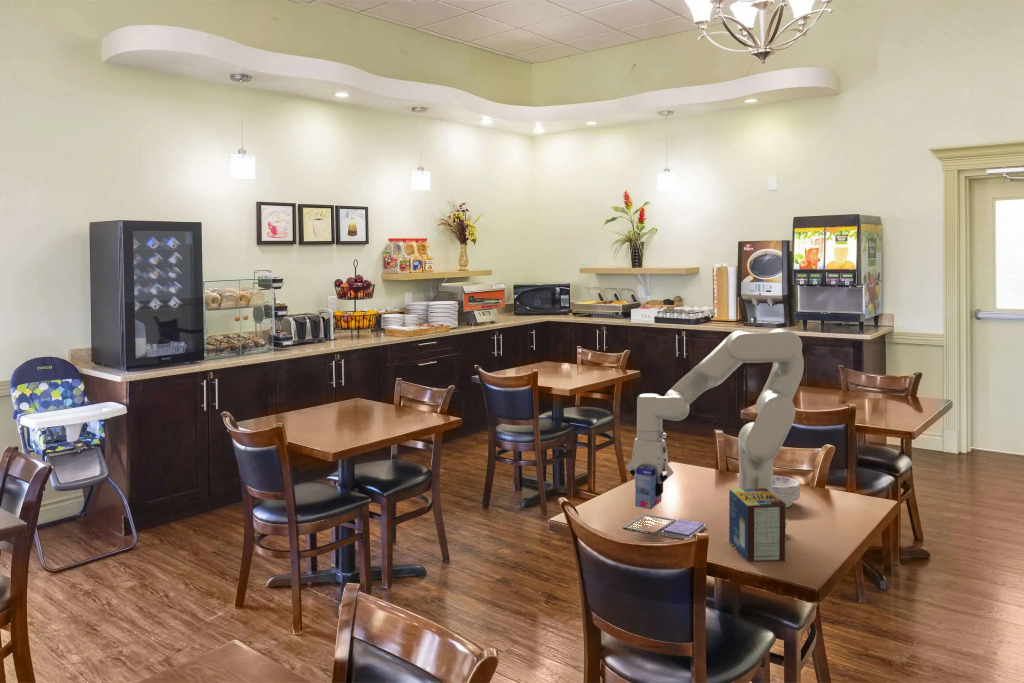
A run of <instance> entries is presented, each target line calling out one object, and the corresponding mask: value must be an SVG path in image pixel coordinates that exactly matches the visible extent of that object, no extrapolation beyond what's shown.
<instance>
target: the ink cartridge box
mask: <svg viewBox="0 0 1024 683" xmlns="http://www.w3.org/2000/svg"><path fill="white" fill-rule="evenodd" d="M656 483H657V479H656V474H655V468H653V467H647V466H641V465H640V466H638V467H637V468H636V489H635V504H634V505H635V507H637V508H640V509H641V508H642V509H647V510H652V509H654V508H655V507H656V506H657V505H659V504H660V503H661V502H662V495H660V496H658V497H656Z"/></svg>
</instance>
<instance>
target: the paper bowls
mask: <svg viewBox="0 0 1024 683" xmlns="http://www.w3.org/2000/svg"><path fill="white" fill-rule="evenodd" d="M800 493H801V483H800V481H799V480H796V479H794V478H792V477H787V476H783V475H782V476H780V475H773V494H774V495H775V496H776V497H777V498H779V499H780V500H781V501H783V502H784V503H785V504H786V508H789V507H791V505H792V504H793V503H794V502H795V501H798V500H799V499H800V495H801V494H800Z"/></svg>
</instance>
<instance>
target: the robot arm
mask: <svg viewBox="0 0 1024 683" xmlns="http://www.w3.org/2000/svg"><path fill="white" fill-rule="evenodd" d="M802 350H803V342H802V340H801V338H800V337H799V335H798V334H796V333H795V332H794V331H790V330H789V329H786V328H774V329H772V330H771V331H770V332H748V331H745V330H735V331H733V332H731V333H730V334H728V336H727V337H725V338H724V339H723V340H722V342H720V343H719V344H718V345H717V346H716V347H715V348H714V349H713V350H712V351H711V352H710V353H709V354H708V355H706V357H704V358H703V359H702V360H701V361H700V362H699V363H698V364H697V365H695V366H694V367H693V368H692V369H691V370H690V371H689V372H687V373H686V374H685V375H684V376H683V377H681V378H680V379H679V380H678V381H677V382H676V383H675V384H674V385H672V387H670V389H669V390H668V391H667V392H666V393H665V395H664V396H662V395H660V394H658V393H652V392H651V393H650V392H649V393H641V394H638V396H637V398H636V437H635V438H634V441H633V448H632V454H631V460H630V461H628V463H627V464H625V468H626V469H627V470H628V471H629V474H631V475H632V477H633V479H634V482H635V483H634V485H635V490H636V468H637V467H638V466H640V465H641V466H647V467H653V468H655V474H656V479H657V483H656V497H658V496H660V495H661V496H662V495H663V493H664V482H666V481H667V479H669V478H670V477H671V476H672V475H674V471H673V469H672V468H671V467H670V465H669V460H668V459H669V458H668V447H667V444H666V440H665V439H664V438H667V433H666V432H664V429H663V420H668V421H675V422H677V421H683V420H684V419H686V418H687V417H688V416H689V414H690V409H691V408H690V405H691V404H692V403H693V402H694V401H695V400H696V399H697V398H698V397H699V396H700V395H702V394H703V393H705V392H706V391H707V390H710V389H712V388H715V387H718V386H719V385H721V384H722V383H724V381H725V380H727V379H728V377H730V376H731V374H733V372H735V371H736V370H737V369H738V368H739V367H741V365H742V364H744V363H746V364H747V363H748V364H751V363H753V364H755V363H756V364H757V363H758V364H759V363H760V364H761V363H763V364H764V363H772V367H771V370H770V373H769V376H768V378H767V380H766V383H764V386H763V389H762V390H761V392H760V394H759V395H758V398H757V400H756V403H755V410H756V413H757V416H756V418H755V421H750V422H748V423H746V424H744V425H743V427H742V428H741V429H740V431H739V432H738V436H737V438H738V439H737V443H738V444H737V447H738V448H737V449H738V468H739V469H738V489H741V488H766V489H767V490H768V491H770V492H771V493H772V494H773V476H774V460H773V459H774V458H775V457H776V456H777V455H778V453H779V452H780V450H781V448H782V446H783V445H784V442H785V441H786V439H787V436H788V434H789V432H790V430H791V429H792V426H793V423H794V421H795V418H796V407H795V404H794V402H793V400H794V397H795V395H796V393H797V390H798V389H799V386H800V383H801V381H802V378H803V373H804V370H805V369H804V368H805V362H804V355H803V351H802ZM663 472H666V473H665V474H664V473H663ZM787 526H788V524H787V521H786V527H785V530H786V529H787Z"/></svg>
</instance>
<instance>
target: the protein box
mask: <svg viewBox="0 0 1024 683" xmlns="http://www.w3.org/2000/svg"><path fill="white" fill-rule="evenodd" d="M728 493H729V494H728V495H729V497H728V498H729V509H728V510H729V511H728V512H729V514H728V520H729V522H728V523H729V524H728V528H729V529H728V531H729V532H728V534H729V535H728V542H729V541H730V542H731V543H732V544H733V545H732V544H731V543H730V542H729V543H730V544H731V545H732V546H733V547H734V546H735V547H736V549H737V550H738V551H739V552H740V553H741V554H742V555H741V554H740V553H739V552H738V551H737V550H736V549H735V550H736V551H737V552H738V553H739V554H740V555H741V557H742V556H743V557H744V558H745V559H746V560H747V561H757V562H776V561H779V562H780V561H781V562H782V561H783V562H784V561H786V529H785V527H786V522H787V521H786V518H787V517H786V515H787V514H786V512H787V511H786V510H787V509H786V508H787V507H786V504H785V503H784V502H783V501H781V500H780V499H779V498H777V497H776V496H775V495H774V494H772V493H771V492H770V491H768V490H767V489H766V488H741V489H739V488H729V492H728ZM786 528H787V527H786ZM735 547H734V548H735ZM743 557H742V558H743ZM744 558H743V559H744ZM745 559H744V560H745ZM746 560H745V561H746ZM747 561H746V562H747Z"/></svg>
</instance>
